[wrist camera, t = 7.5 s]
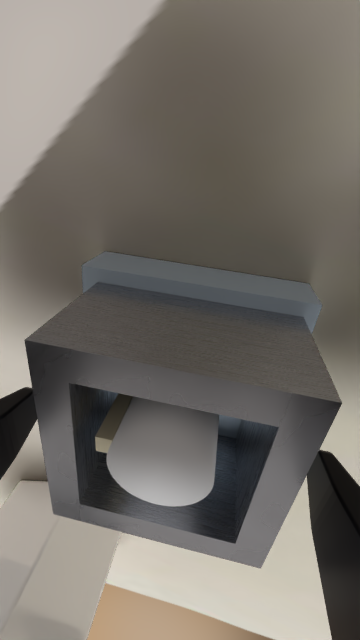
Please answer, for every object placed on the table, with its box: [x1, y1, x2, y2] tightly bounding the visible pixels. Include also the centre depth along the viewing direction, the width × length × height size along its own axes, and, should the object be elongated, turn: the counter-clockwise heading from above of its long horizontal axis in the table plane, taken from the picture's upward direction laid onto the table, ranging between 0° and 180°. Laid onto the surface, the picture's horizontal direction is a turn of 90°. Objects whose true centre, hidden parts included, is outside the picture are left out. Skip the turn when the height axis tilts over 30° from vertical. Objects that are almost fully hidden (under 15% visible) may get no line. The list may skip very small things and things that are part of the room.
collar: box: [25, 282, 342, 568], centre depth 10 cm, size 7×7×4 cm
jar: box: [0, 480, 121, 640], centre depth 16 cm, size 9×8×12 cm
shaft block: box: [82, 251, 322, 506], centre depth 11 cm, size 8×8×6 cm
